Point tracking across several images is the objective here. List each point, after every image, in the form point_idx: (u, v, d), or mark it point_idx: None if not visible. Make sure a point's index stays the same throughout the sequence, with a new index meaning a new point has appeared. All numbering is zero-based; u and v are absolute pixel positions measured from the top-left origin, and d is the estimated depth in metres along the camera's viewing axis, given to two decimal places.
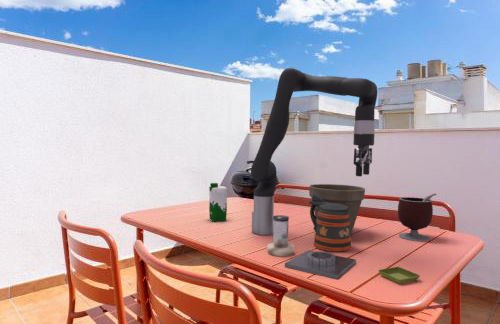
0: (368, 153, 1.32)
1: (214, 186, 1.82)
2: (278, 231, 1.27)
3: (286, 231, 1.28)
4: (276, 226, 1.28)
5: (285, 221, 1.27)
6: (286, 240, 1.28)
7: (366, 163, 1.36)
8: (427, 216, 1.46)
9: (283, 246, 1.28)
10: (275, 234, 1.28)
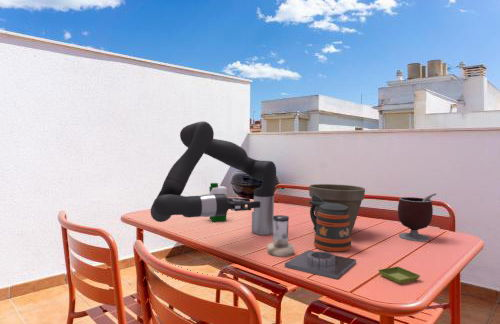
0: (233, 209, 1.20)
1: (214, 186, 1.82)
2: (278, 231, 1.27)
3: (286, 231, 1.28)
4: (276, 226, 1.28)
5: (285, 221, 1.27)
6: (286, 240, 1.28)
7: None
8: (427, 216, 1.46)
9: (283, 246, 1.28)
10: (275, 234, 1.28)
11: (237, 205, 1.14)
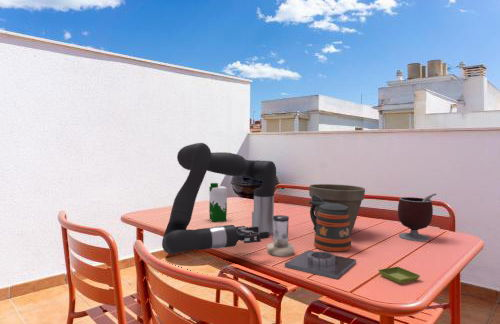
0: None
1: (214, 186, 1.82)
2: (278, 231, 1.27)
3: (286, 231, 1.28)
4: (276, 226, 1.28)
5: (285, 221, 1.27)
6: (286, 240, 1.28)
7: None
8: (427, 216, 1.46)
9: (283, 246, 1.28)
10: (275, 234, 1.28)
11: (247, 237, 1.17)
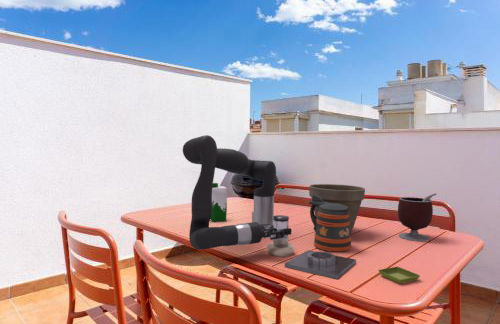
0: (266, 236, 1.26)
1: (214, 186, 1.82)
2: None
3: None
4: (276, 226, 1.28)
5: (285, 221, 1.27)
6: (286, 240, 1.28)
7: None
8: (427, 216, 1.46)
9: (283, 246, 1.28)
10: None
11: (273, 234, 1.21)
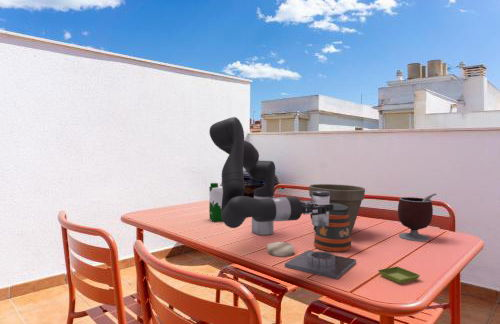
0: (305, 213, 1.12)
1: (214, 186, 1.82)
2: None
3: None
4: (316, 202, 1.14)
5: (326, 196, 1.13)
6: (327, 218, 1.14)
7: None
8: (427, 216, 1.46)
9: (324, 224, 1.13)
10: None
11: (315, 209, 1.07)
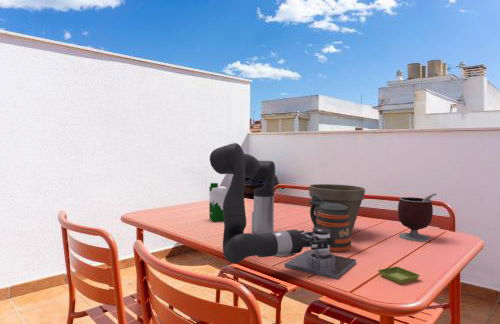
0: None
1: (214, 186, 1.82)
2: None
3: (328, 245, 1.14)
4: None
5: (327, 234, 1.14)
6: (328, 255, 1.15)
7: None
8: (427, 216, 1.46)
9: None
10: None
11: (314, 244, 1.07)
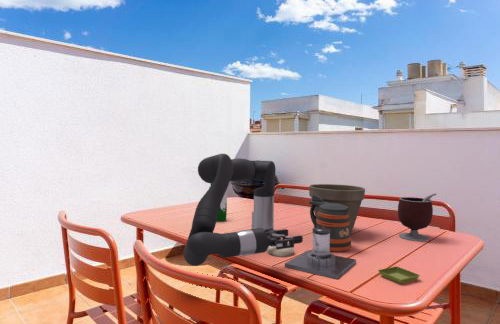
0: None
1: None
2: (319, 245, 1.14)
3: (328, 245, 1.14)
4: (317, 240, 1.14)
5: (327, 234, 1.14)
6: (328, 255, 1.15)
7: None
8: (427, 216, 1.46)
9: None
10: (315, 249, 1.15)
11: (279, 243, 1.02)
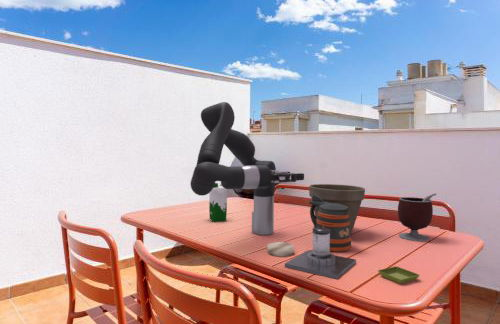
0: None
1: (214, 186, 1.82)
2: (319, 245, 1.14)
3: (328, 245, 1.14)
4: (317, 240, 1.14)
5: (327, 234, 1.14)
6: (328, 255, 1.15)
7: None
8: (427, 216, 1.46)
9: None
10: (315, 249, 1.15)
11: (282, 176, 1.07)
